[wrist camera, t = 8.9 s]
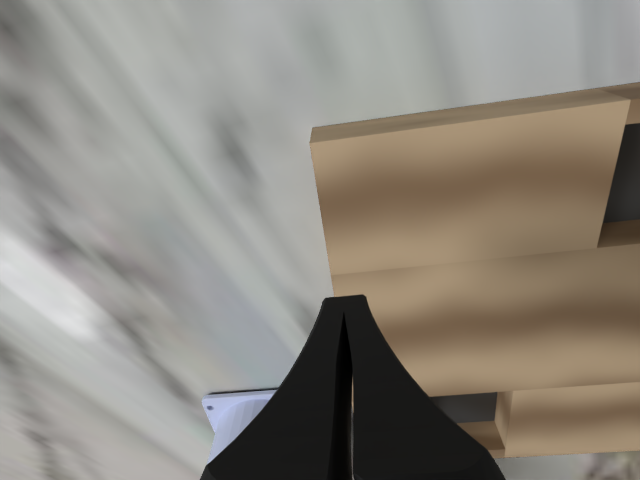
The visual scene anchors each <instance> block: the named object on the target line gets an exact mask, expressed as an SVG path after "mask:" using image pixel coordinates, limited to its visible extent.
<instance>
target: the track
mask: <svg viewBox="0 0 640 480" xmlns="http://www.w3.org/2000/svg"><path fill="white" fill-rule="evenodd" d="M310 149H311V155H312V161H313V167H314V173H315V179H316V186H317V192H318V198H319V204H320V210H321V217H322V223H323V229H324V235H325V241H326V247H327V254H328V260H329V266H330V272H331V278H332V285H333V291H334V297H340V296H350V295H360V294H363V295H365V296H366V297H367V302H368V305H369V308H370V310H371V313H372V315H373V317H374V319H375V321H376V323H377V325H378V327H379V329H380V331H381V333H382V334H383V336H384V338H385V340H386V341H387V343H388V344H389V346H390V348H391V349H392V351H393V352H394V353H395V355H396V356H397V358H398V359H399V361H400V362H401V363H402V365H403V366H404V368H405V369H406V370H407V371H408V373H409V374H410V375H411V376H412V378H413V379H414V380H415V381H416V382H417V384H418V385H419V386H420V387H421V388H422V389H423V391H424V392H425V393H426V394H427V395H428V396H429V397H430V398H431V399H432V400H433V401H434V402H435V403H436V404H437V405H438V406H439V407H440V408H441V409H442V410H443V411H444V412H445V413H446V414H447V415H448V416H449V417H450V418H451V419H452V420H453V421H454V422H456V423H457V424H458V425H459V426H460V427H461V428H462V429H463V430H465V431H466V432H467V433H468V434H469V435H470V436H472V437H473V438H474V439H475V440H477V441H478V442H479V443H480V444H481V445H483V446H484V447H485V448H486V449H487V450H488V451H489V453H490V454H491V456H492V457H493V458H510V457H528V456H546V455H565V454H583V453H601V452H619V451H638V450H640V82H638V83H631V84H624V85H616V86H609V87H602V88H595V89H588V90H580V91H573V92H566V93H559V94H552V95H545V96H537V97H530V98H523V99H516V100H509V101H501V102H494V103H487V104H480V105H473V106H466V107H458V108H451V109H444V110H437V111H430V112H423V113H415V114H408V115H401V116H394V117H387V118H379V119H372V120H365V121H358V122H351V123H344V124H336V125H329V126H322V127H315V128H312V133H311V138H310ZM352 408H353V382H352Z"/></svg>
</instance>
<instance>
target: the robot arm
mask: <svg viewBox="0 0 640 480" xmlns="http://www.w3.org/2000/svg"><path fill="white" fill-rule="evenodd" d="M352 382H353V414H354V444H353V475H354V480H505V478H504V476H503V474H502V472H501V470H500V469H499V467H498V465H497V464H496V462H495V460H494V459H493V457H492V456H491V454H490V453H489V451H488V450H487V449H486V448H485V447H484V446H483V445H481V444H480V443H479V442H478V441H477V440H475V439H474V438H473V437H472V436H470V435H469V434H468V433H467V432H466V431H465V430H463V429H462V428H461V427H460V426H459V425H458V424H457V423H456V422H454V421H453V420H452V419H451V418H450V417H449V416H448V415H447V414H446V413H445V412H444V411H443V410H442V409H441V408H440V407H439V406H438V405H437V404H436V403H435V402H434V401H433V400H432V399H431V398H430V397H429V396H428V395H427V394H426V393H425V392H424V391H423V389H422V388H421V387H420V386H419V385H418V384H417V382H416V381H415V380H414V379H413V378H412V376H411V375H410V374H409V373H408V371H407V370H406V369H405V368H404V366H403V365H402V363H401V362H400V361H399V359H398V358H397V356H396V355H395V353H394V352H393V351H392V349H391V348H390V346H389V344H388V343H387V341H386V340H385V338H384V336H383V334H382V333H381V331H380V329H379V327H378V325H377V323H376V321H375V319H374V317H373V315H372V313H371V310H370V308H369V305H368V302H367V297H366V296H365V295H363V294H360V295H350V296H340V297H329V298H325V299H324V300H323V302H322V306H321V309H320V312H319V315H318V317H317V320H316V322H315V324H314V327H313V329H312V331H311V333H310V335H309V337H308V339H307V342H306V344H305V346H304V347H303V349H302V351H301V353H300V355H299V356H298V358H297V360H296V362H295V364H294V365H293V367H292V368H291V370H290V372H289V373H288V375H287V376H286V378H285V379H284V381H283V382H282V384H281V385H280V387H279V388H278V389H277V390H267V391H254V392H240V393H227V394H214V395H206V396H204V397H203V399H202V405H203V407H204V409H205V412H206V414H207V416H208V418H209V421H210V423H211V425H212V427H213V430H214V432H215V437H214V440H213V444H212V447H211V451H210V455H209V458H208V462H207V465H206V467H205V469H204V471H203V474H202V476H201V478H200V480H352V466H351V409H352Z"/></svg>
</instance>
